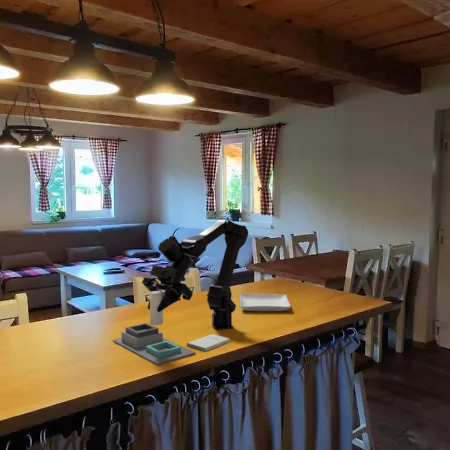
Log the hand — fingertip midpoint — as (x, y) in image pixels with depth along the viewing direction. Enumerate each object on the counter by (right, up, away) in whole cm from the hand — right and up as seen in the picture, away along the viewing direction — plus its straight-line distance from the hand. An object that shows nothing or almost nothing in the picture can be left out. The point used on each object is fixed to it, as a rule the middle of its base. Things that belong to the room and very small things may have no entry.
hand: (153, 310), depth 148 cm
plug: (+1, -4, +1) cm, 5 cm away
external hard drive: (+17, -13, +9) cm, 24 cm away
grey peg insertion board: (-1, -13, +5) cm, 14 cm away
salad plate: (+40, -9, +56) cm, 69 cm away
